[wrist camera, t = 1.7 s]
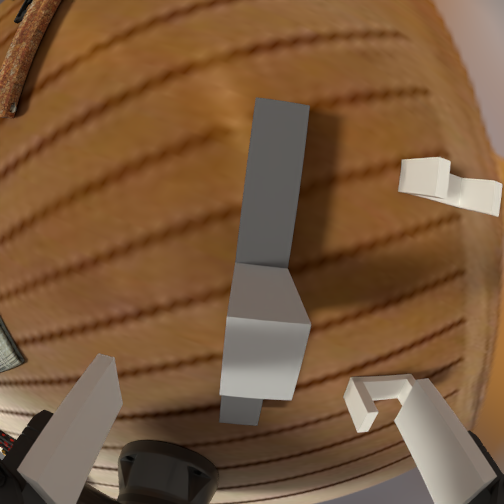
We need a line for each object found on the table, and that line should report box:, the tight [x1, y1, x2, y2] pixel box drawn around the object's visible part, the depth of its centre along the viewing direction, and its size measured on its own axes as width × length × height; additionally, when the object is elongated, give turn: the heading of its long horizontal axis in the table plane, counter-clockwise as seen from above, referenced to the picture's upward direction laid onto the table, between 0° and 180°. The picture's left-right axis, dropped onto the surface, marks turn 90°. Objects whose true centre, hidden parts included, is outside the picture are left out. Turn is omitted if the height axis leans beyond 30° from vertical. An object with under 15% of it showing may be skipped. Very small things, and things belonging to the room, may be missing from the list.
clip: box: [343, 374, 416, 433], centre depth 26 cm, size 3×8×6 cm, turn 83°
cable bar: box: [219, 98, 311, 426], centre depth 20 cm, size 30×4×12 cm, turn 173°
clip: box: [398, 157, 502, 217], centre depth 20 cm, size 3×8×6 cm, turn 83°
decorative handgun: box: [0, 0, 61, 118], centre depth 16 cm, size 3×28×15 cm
